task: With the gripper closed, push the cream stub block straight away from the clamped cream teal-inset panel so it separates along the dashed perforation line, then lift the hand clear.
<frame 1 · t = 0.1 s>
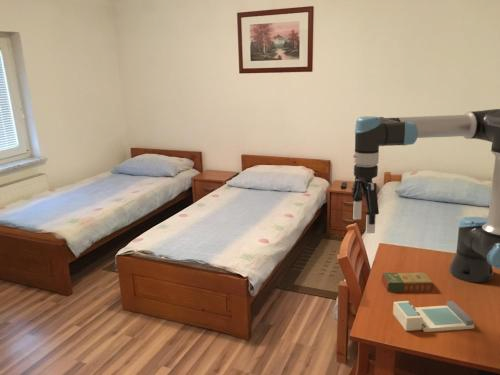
hand: (363, 225, 145), 28 cm above the table, fingers open, 13 cm apart
stub: (407, 315, 138), point 2 cm above the table, slide at 0.0 cm
carton: (405, 287, 161), on the table
cream teal-inset panel: (439, 319, 139), on the table
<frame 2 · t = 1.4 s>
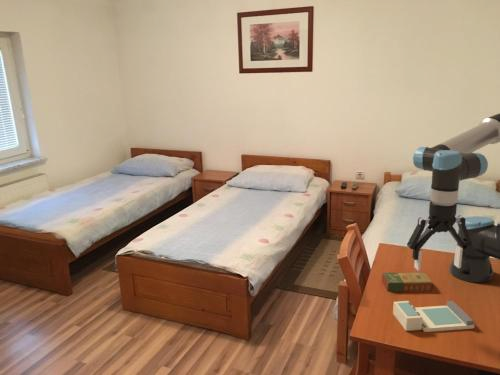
hand: (437, 267, 134), 18 cm above the table, fingers open, 12 cm apart
nothing on the table moved.
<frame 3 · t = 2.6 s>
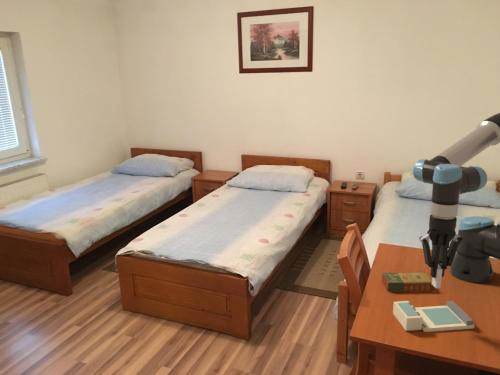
hand: (436, 286, 136), 12 cm above the table, fingers closed
nothing on the table moved.
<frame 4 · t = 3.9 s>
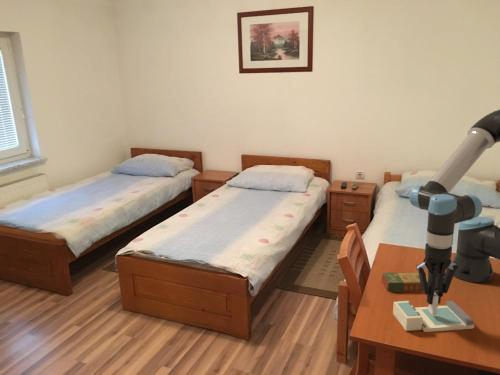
hand: (432, 312, 138), 3 cm above the table, fingers closed
nothing on the table moved.
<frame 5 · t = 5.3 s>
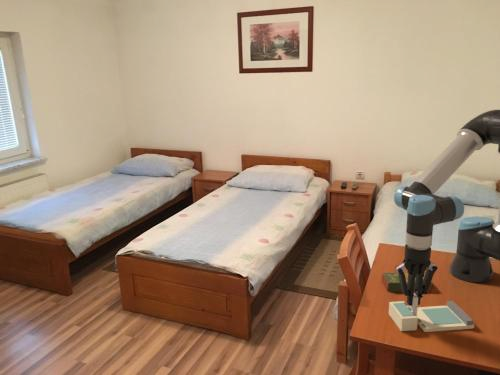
hand: (412, 313, 138), 3 cm above the table, fingers closed
stub: (402, 315, 138), point 2 cm above the table, slide at 1.5 cm, touching gripper
everything else where it was.
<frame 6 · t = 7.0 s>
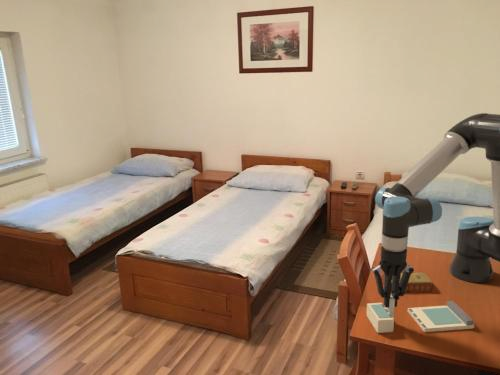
hand: (389, 315, 137), 3 cm above the table, fingers closed
stub: (379, 317, 137), point 2 cm above the table, slide at 9.1 cm, touching gripper
everything else where it was.
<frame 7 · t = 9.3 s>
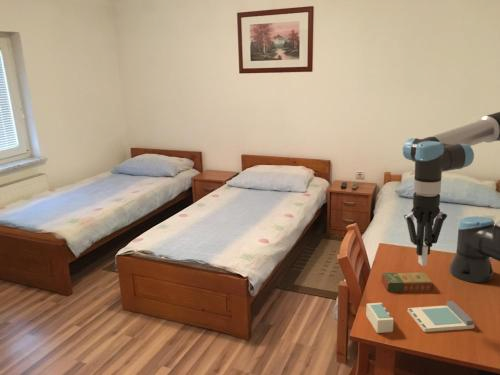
hand: (422, 263, 136), 19 cm above the table, fingers closed
stub: (379, 317, 137), point 2 cm above the table, slide at 9.2 cm
everything else where it was.
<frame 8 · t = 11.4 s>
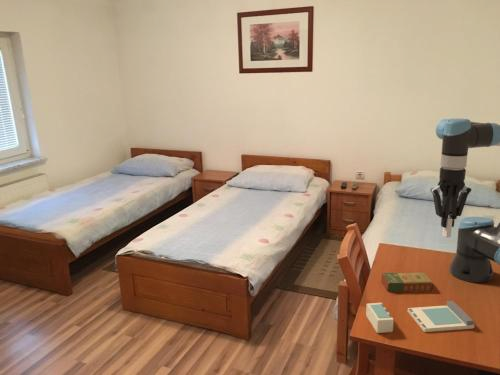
hand: (446, 235, 144), 24 cm above the table, fingers closed
nothing on the table moved.
at the end: stub slide at 9.2 cm; stub touching nothing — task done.
